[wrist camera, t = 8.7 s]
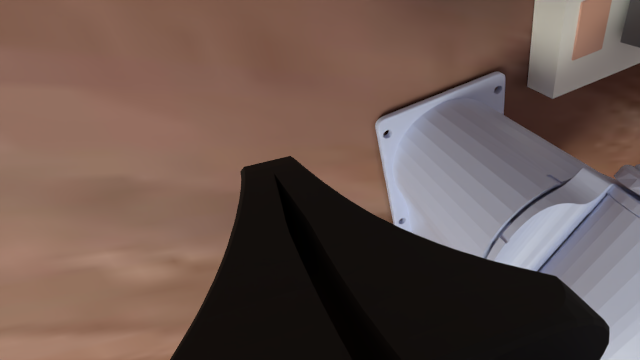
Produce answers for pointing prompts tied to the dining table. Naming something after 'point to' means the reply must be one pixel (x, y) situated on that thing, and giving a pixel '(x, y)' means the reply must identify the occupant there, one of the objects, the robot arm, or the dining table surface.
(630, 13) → the fader knob
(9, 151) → the dining table surface
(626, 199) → the robot arm
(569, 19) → the fader panel
